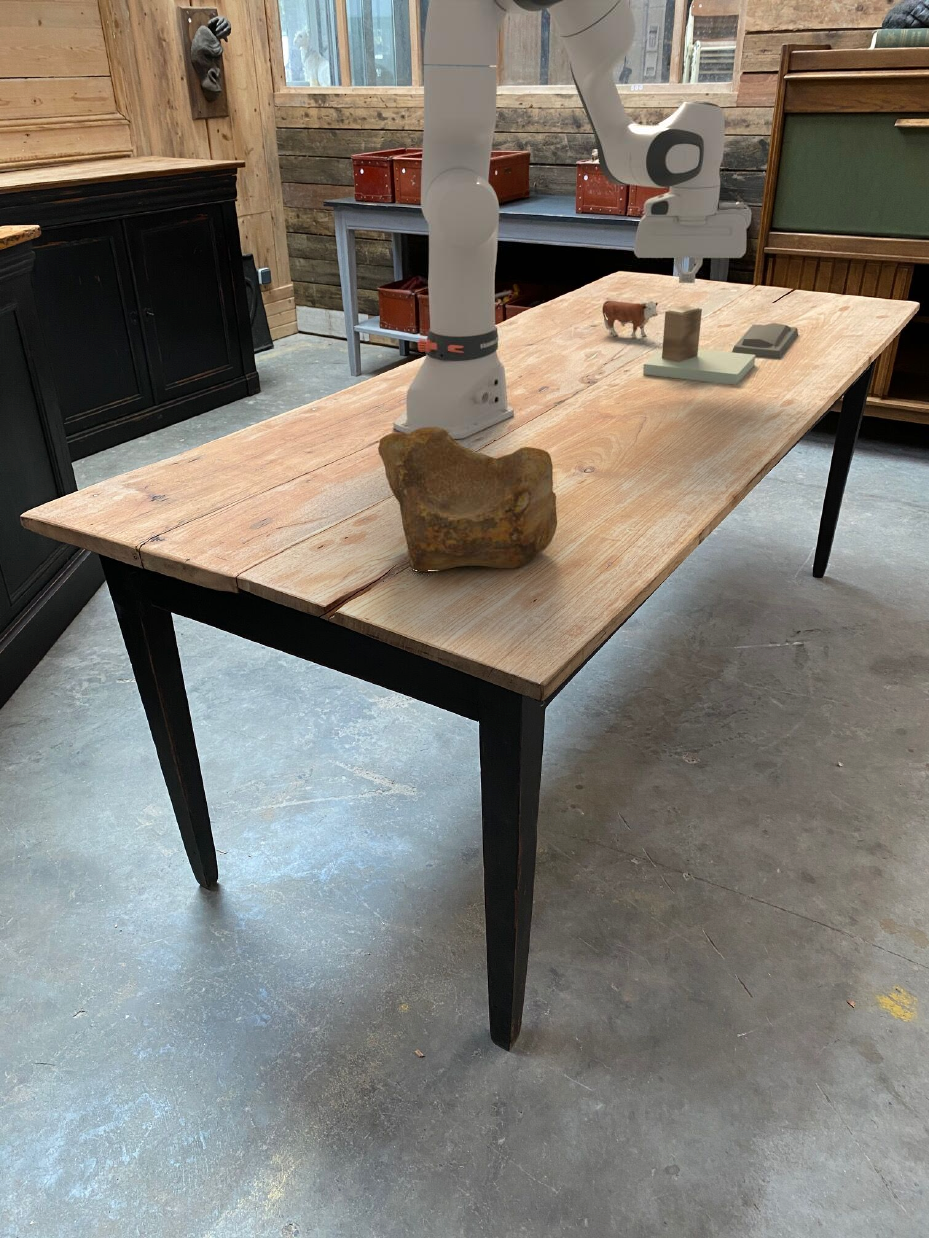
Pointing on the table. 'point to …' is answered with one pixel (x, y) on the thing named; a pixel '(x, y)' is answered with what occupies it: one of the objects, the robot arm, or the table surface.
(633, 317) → the bull figurine
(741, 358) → the board
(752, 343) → the soap mold
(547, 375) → the table surface
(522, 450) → the rough brown rock
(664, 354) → the block
